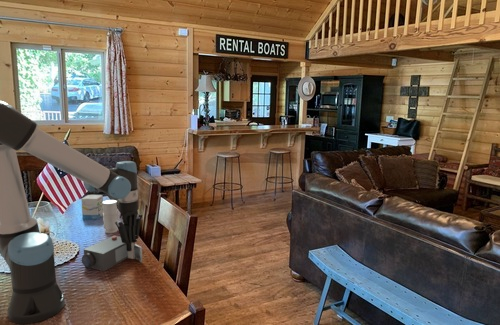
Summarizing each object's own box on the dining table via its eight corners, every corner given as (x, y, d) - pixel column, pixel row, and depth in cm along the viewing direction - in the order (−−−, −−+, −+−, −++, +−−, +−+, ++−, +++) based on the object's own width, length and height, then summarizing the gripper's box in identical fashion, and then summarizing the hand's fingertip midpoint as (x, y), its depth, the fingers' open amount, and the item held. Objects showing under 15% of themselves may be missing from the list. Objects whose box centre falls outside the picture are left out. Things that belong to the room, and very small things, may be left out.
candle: (120, 231, 180) (118, 202, 178) (105, 234, 176) (103, 204, 174) (116, 227, 186) (115, 199, 183) (102, 230, 182) (100, 201, 179)
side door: (142, 261, 147) (142, 246, 146) (140, 262, 146) (139, 247, 145) (131, 255, 153) (130, 241, 151) (129, 256, 152) (128, 241, 151)
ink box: (97, 219, 197) (96, 198, 195) (82, 219, 198) (80, 198, 195) (104, 214, 206) (103, 194, 204) (89, 214, 206) (87, 194, 204)
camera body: (99, 273, 137) (98, 254, 136) (80, 268, 141) (78, 249, 140) (133, 255, 154) (132, 237, 152) (115, 250, 158) (114, 233, 157)
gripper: (124, 205, 136) (127, 265, 139) (146, 198, 148) (149, 254, 151) (108, 203, 139) (112, 262, 142) (132, 196, 151) (135, 251, 154)
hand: (131, 258), depth 146 cm, fingers closed
